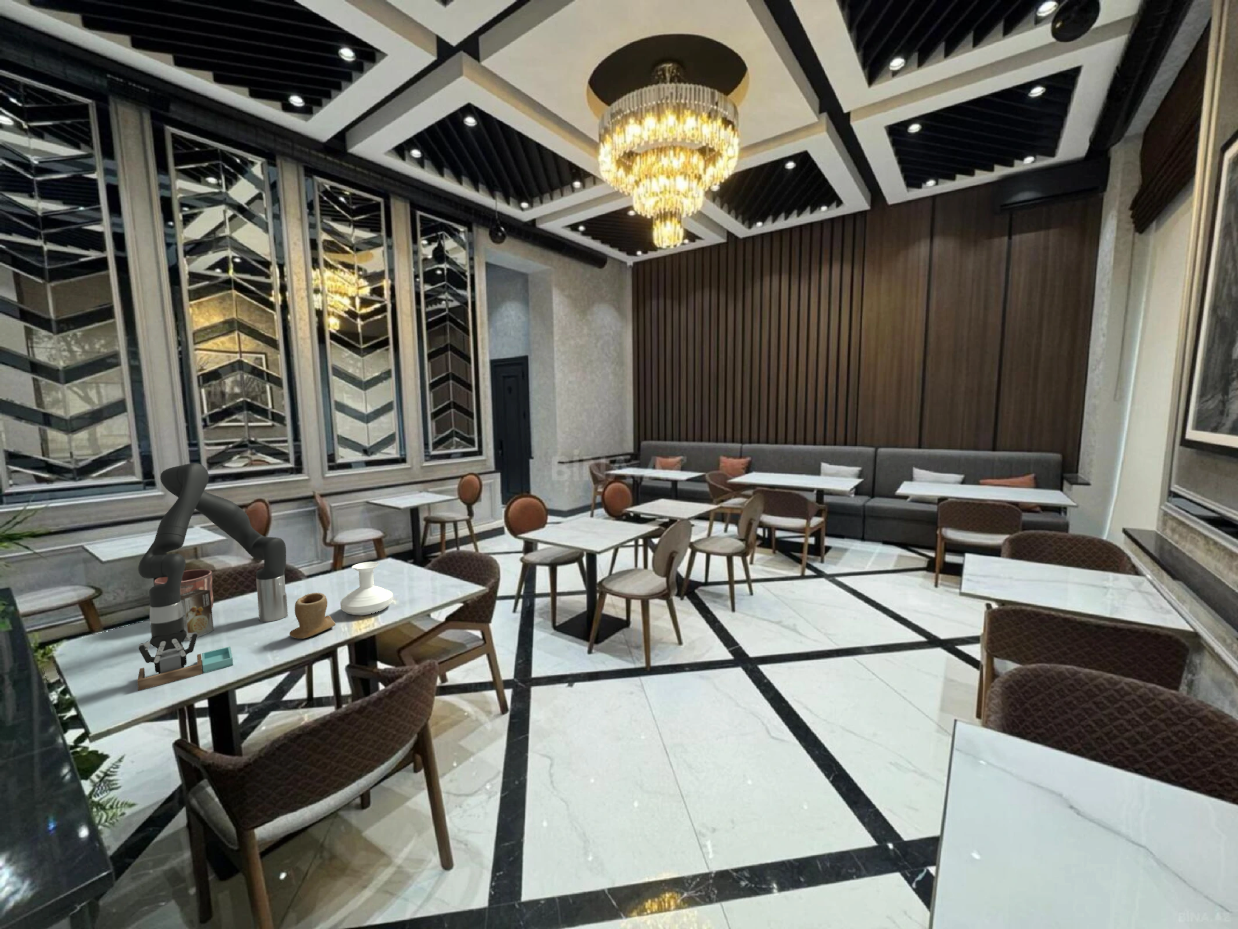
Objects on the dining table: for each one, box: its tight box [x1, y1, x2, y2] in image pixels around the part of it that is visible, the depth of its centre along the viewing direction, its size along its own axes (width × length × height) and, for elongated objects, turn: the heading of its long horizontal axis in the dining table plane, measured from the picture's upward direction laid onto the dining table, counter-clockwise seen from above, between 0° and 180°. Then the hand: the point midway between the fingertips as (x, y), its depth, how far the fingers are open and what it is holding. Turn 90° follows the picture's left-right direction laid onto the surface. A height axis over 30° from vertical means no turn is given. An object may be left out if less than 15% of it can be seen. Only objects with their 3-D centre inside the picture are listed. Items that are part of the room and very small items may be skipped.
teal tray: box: [201, 646, 234, 674], centre depth 158 cm, size 7×11×2 cm
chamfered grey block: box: [160, 648, 181, 673], centre depth 151 cm, size 5×8×7 cm, turn 42°
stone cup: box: [289, 592, 337, 640], centre depth 181 cm, size 15×12×15 cm
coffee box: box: [181, 590, 215, 642], centre depth 179 cm, size 9×6×16 cm
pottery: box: [153, 568, 214, 608], centre depth 194 cm, size 18×18×18 cm
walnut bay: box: [137, 653, 203, 691], centre depth 150 cm, size 14×10×3 cm
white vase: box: [339, 561, 394, 616], centre depth 203 cm, size 20×20×19 cm
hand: (171, 669), depth 151 cm, fingers closed on chamfered grey block, 4 cm apart
